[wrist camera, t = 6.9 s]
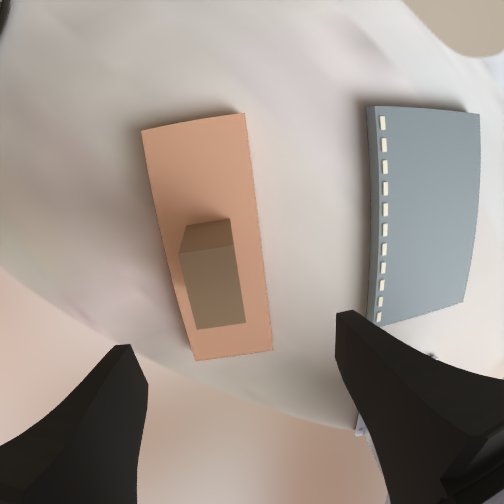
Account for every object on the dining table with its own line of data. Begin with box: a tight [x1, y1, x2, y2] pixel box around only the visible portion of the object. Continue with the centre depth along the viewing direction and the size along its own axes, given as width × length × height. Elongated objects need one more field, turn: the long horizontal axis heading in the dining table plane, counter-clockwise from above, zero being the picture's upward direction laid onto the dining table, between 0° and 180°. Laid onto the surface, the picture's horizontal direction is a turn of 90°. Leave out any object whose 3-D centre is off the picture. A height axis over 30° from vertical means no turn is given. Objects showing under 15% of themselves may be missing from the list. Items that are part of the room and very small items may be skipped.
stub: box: [141, 113, 273, 361], centre depth 16 cm, size 15×5×5 cm, turn 7°
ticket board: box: [366, 106, 481, 327], centre depth 19 cm, size 15×9×1 cm, turn 7°
